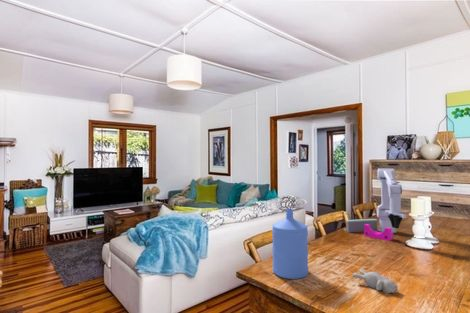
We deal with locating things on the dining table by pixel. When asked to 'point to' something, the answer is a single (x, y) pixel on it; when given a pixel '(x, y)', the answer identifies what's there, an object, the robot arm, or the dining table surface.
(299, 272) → the water jug
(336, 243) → the dining table surface
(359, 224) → the backstop wall
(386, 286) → the bunny figurine
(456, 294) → the dining table surface
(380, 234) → the toy block
